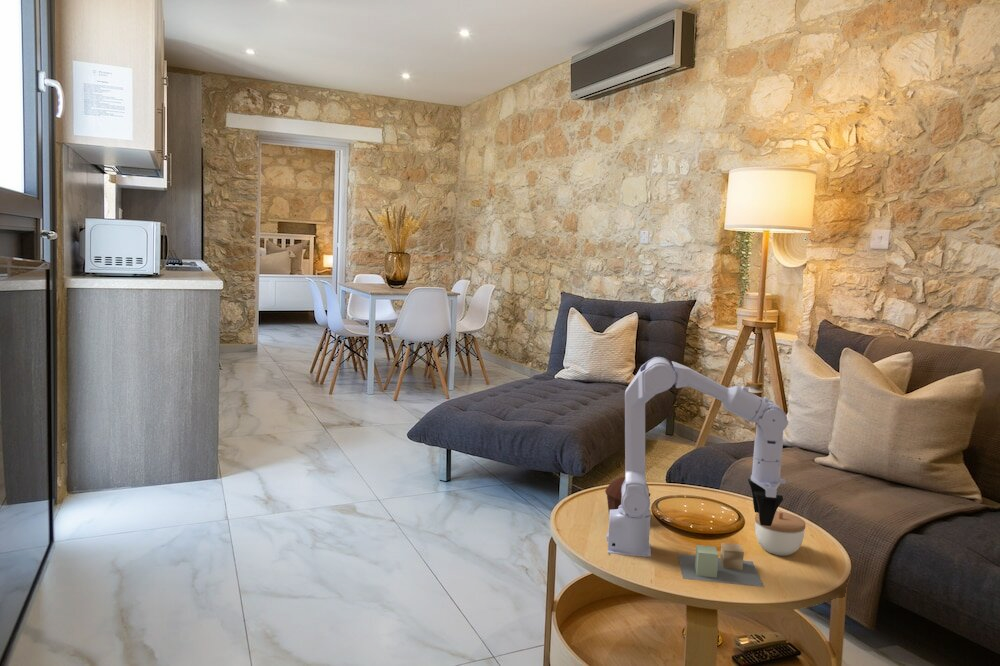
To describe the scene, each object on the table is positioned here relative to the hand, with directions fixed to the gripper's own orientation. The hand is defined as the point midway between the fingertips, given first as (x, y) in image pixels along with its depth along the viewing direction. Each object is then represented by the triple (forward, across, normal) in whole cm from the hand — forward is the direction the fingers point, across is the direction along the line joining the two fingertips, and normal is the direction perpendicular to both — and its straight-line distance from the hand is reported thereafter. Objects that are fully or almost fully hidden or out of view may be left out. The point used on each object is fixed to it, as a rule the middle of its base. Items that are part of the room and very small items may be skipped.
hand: (762, 518), depth 152 cm
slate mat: (+10, -7, +9) cm, 15 cm away
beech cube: (+10, -4, +6) cm, 12 cm away
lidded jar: (+10, +8, -5) cm, 14 cm away
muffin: (+10, +19, +29) cm, 36 cm away
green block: (+10, -9, +12) cm, 18 cm away
